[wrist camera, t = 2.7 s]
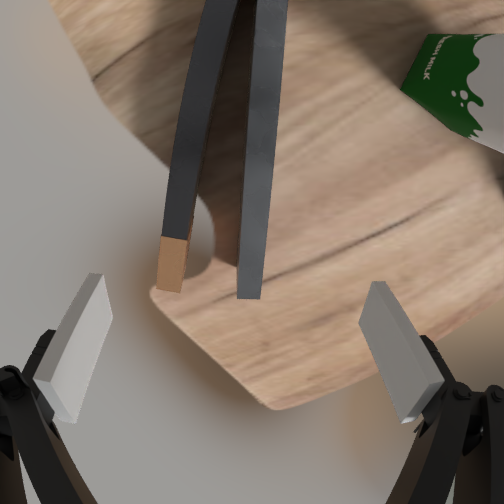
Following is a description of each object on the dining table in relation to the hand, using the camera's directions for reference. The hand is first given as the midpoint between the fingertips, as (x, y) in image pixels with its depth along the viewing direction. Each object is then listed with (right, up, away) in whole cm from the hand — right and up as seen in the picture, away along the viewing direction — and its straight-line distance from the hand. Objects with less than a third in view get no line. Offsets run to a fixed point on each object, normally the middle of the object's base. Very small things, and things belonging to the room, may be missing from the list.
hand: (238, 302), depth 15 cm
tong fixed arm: (0, +15, +9) cm, 17 cm away
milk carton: (+18, +18, +8) cm, 27 cm away
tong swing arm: (-4, +13, +10) cm, 16 cm away
